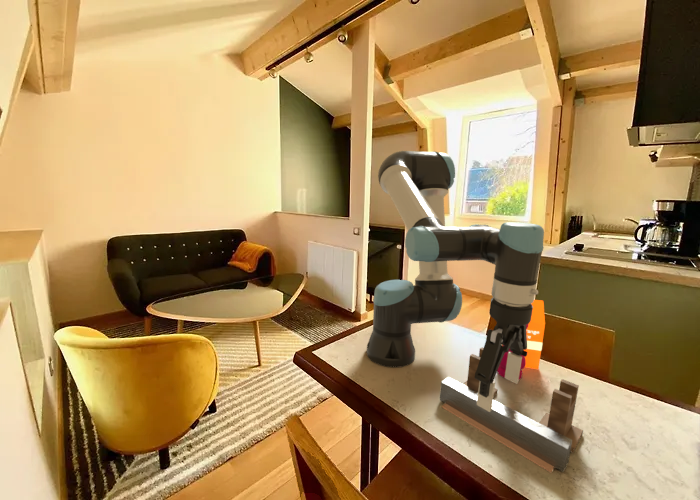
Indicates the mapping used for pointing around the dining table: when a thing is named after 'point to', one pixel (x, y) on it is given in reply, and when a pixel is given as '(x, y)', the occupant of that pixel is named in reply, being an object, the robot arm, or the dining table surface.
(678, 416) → the dining table surface
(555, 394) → the hook stands
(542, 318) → the orange juice
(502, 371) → the pepper mill
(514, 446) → the mat
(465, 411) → the rail
